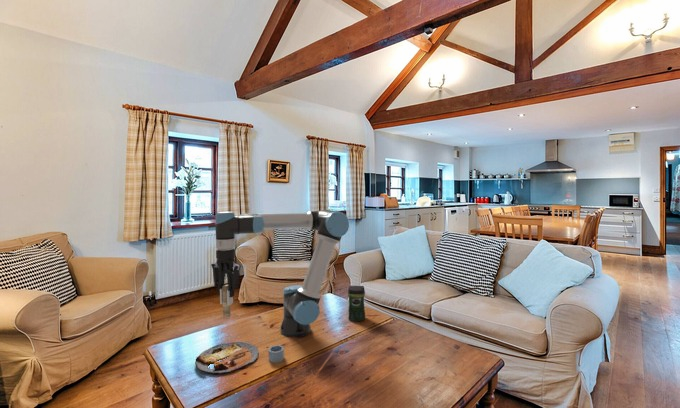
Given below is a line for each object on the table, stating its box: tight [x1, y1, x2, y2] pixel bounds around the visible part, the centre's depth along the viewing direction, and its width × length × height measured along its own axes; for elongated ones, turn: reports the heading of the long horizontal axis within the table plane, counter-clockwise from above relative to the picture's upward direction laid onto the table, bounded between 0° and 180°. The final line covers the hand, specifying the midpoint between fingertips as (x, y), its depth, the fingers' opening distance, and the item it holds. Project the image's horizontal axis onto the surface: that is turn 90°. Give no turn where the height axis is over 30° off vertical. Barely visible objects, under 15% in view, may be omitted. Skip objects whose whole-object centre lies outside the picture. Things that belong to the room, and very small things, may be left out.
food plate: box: [194, 341, 259, 375], centre depth 133 cm, size 25×23×4 cm
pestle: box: [222, 284, 231, 319], centre depth 132 cm, size 3×3×13 cm
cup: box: [268, 344, 285, 364], centre depth 132 cm, size 6×6×5 cm
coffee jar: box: [347, 285, 366, 322], centre depth 174 cm, size 10×8×19 cm
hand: (226, 303), depth 132 cm, fingers closed on pestle, 3 cm apart
